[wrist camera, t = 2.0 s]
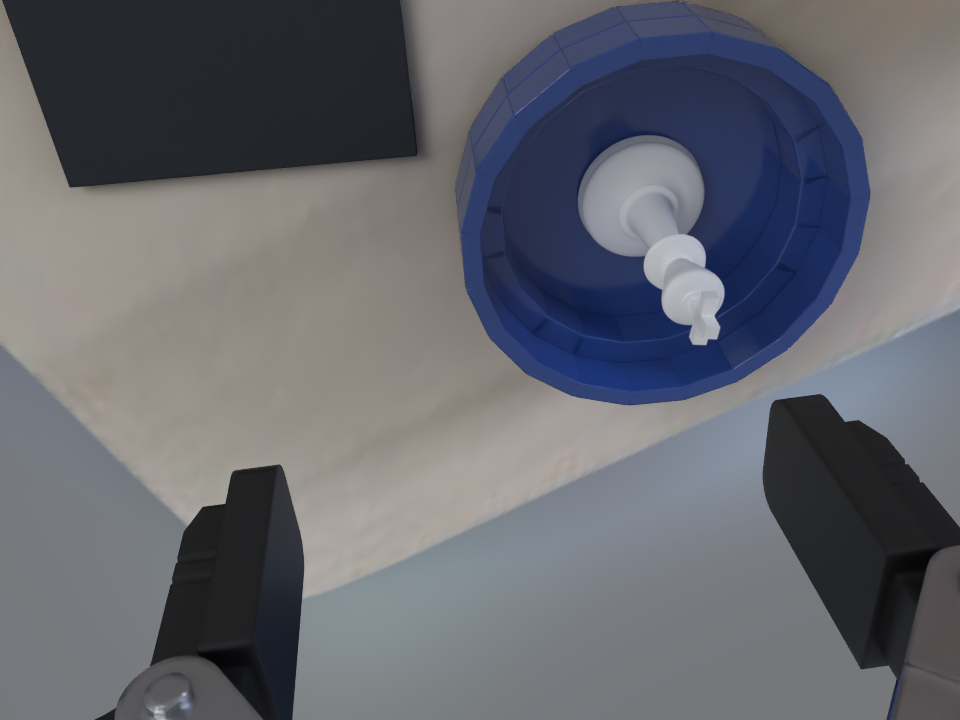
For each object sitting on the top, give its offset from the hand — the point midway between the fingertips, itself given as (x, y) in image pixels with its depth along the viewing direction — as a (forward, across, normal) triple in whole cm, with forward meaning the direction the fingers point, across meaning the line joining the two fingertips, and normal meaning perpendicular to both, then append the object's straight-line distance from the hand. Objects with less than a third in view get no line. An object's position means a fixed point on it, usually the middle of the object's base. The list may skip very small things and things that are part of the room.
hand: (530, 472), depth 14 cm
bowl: (+21, -7, +4) cm, 23 cm away
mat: (+22, +8, -5) cm, 23 cm away
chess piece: (+21, -7, +4) cm, 23 cm away
